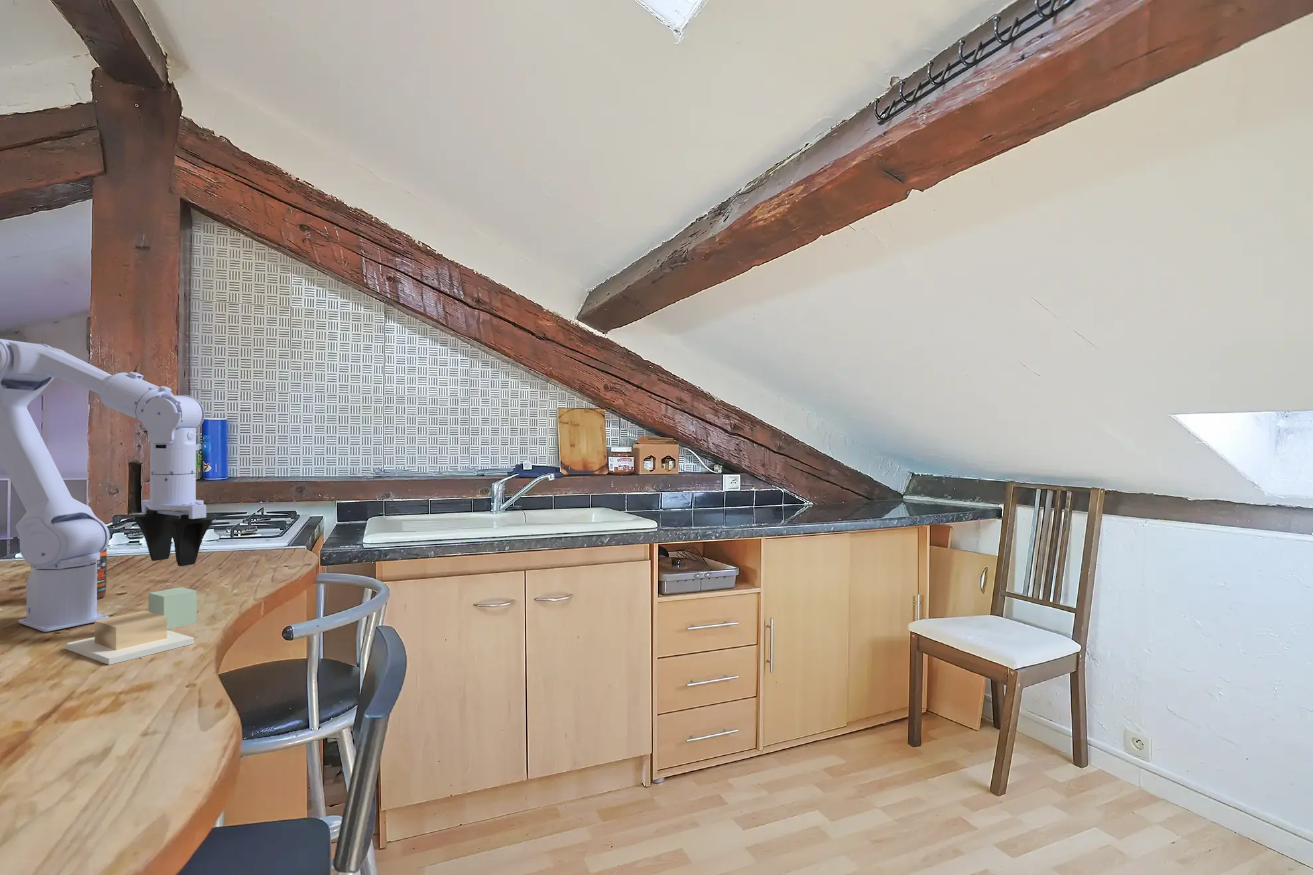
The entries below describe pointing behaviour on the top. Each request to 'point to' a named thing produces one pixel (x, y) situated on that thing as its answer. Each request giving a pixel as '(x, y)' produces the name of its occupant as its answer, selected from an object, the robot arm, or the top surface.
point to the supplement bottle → (101, 574)
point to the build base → (130, 651)
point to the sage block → (175, 606)
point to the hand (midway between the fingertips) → (173, 562)
